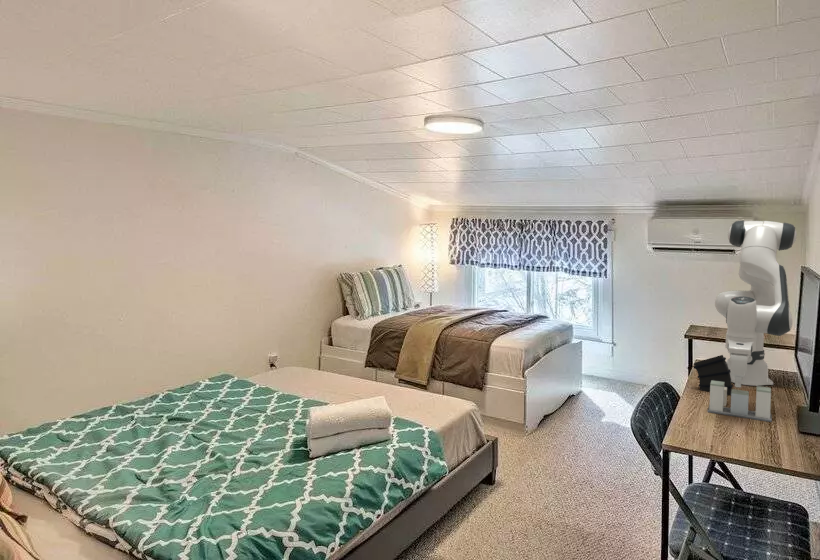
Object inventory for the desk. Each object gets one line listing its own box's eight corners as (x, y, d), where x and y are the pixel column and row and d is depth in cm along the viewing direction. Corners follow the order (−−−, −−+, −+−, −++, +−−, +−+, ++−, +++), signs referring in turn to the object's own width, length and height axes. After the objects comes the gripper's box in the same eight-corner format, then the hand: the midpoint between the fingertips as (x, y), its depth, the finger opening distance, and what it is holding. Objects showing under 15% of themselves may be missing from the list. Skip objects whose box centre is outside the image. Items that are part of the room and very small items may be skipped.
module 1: (709, 410, 181) (710, 383, 180) (710, 406, 185) (711, 380, 184) (722, 412, 179) (723, 385, 178) (723, 408, 183) (724, 381, 182)
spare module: (709, 403, 190) (710, 387, 189) (710, 400, 193) (711, 385, 193) (725, 406, 187) (726, 389, 187) (726, 403, 190) (727, 387, 190)
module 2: (730, 412, 178) (731, 391, 177) (731, 409, 181) (731, 389, 181) (747, 415, 175) (748, 394, 174) (747, 412, 178) (748, 391, 178)
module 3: (755, 417, 173) (756, 389, 173) (755, 413, 177) (756, 386, 177) (769, 419, 171) (771, 391, 170) (769, 415, 175) (770, 387, 174)
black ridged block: (740, 392, 197) (721, 355, 200) (704, 401, 205) (687, 365, 209) (741, 390, 200) (723, 354, 203) (706, 399, 208) (690, 363, 211)
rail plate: (707, 412, 180) (707, 409, 180) (709, 406, 186) (709, 404, 186) (771, 422, 170) (771, 419, 170) (771, 416, 176) (771, 413, 176)
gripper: (731, 337, 187) (729, 374, 188) (727, 348, 170) (726, 389, 172) (752, 339, 183) (750, 377, 185) (750, 351, 167) (748, 392, 168)
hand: (738, 383), depth 178 cm, fingers open, 8 cm apart
